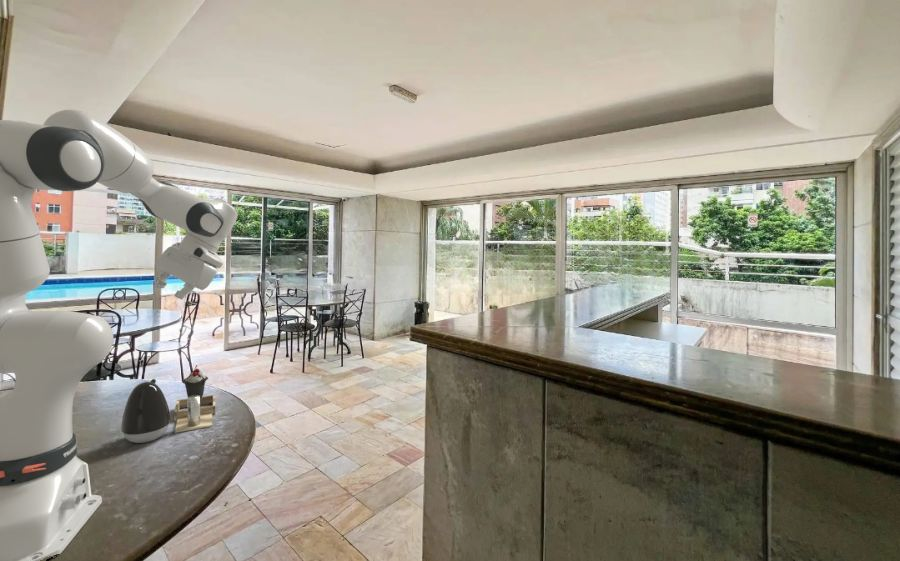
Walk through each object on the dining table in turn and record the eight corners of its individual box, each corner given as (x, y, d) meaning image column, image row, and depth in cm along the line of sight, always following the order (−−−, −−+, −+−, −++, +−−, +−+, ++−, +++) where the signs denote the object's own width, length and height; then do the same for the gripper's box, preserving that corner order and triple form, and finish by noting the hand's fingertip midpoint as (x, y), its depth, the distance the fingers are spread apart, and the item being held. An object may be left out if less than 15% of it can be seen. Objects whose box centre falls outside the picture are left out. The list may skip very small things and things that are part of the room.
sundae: (196, 417, 115) (195, 368, 114) (177, 414, 116) (176, 365, 115) (213, 408, 122) (213, 361, 120) (195, 405, 123) (194, 359, 122)
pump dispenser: (177, 427, 109) (175, 374, 107) (162, 445, 99) (160, 387, 97) (133, 431, 105) (131, 377, 104) (113, 450, 96) (111, 390, 94)
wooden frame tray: (215, 425, 110) (214, 397, 109) (171, 433, 105) (170, 403, 104) (215, 402, 126) (214, 377, 125) (177, 407, 121) (176, 381, 120)
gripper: (166, 235, 113) (137, 276, 110) (209, 255, 105) (179, 300, 102) (185, 245, 119) (158, 284, 116) (227, 265, 111) (199, 307, 107)
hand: (168, 292), depth 109 cm, fingers open, 8 cm apart
